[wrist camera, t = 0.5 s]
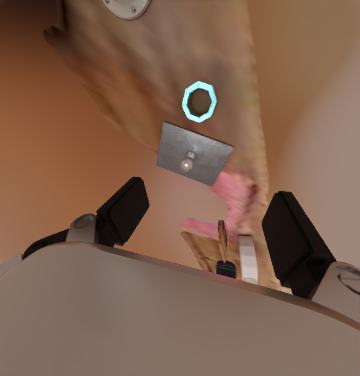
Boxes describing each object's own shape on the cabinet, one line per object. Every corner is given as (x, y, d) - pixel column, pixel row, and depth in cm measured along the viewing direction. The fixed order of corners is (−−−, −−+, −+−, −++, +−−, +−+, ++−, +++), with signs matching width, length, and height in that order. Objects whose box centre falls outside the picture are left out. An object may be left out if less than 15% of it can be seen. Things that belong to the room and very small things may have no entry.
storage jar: (214, 266, 77) (213, 297, 65) (218, 258, 71) (217, 291, 59) (232, 271, 75) (234, 304, 64) (238, 263, 69) (241, 299, 58)
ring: (183, 112, 34) (179, 115, 31) (191, 78, 30) (188, 77, 27) (209, 122, 34) (207, 125, 31) (221, 88, 29) (221, 89, 26)
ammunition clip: (226, 236, 59) (227, 264, 49) (222, 236, 59) (222, 264, 50) (223, 220, 53) (223, 248, 44) (218, 220, 54) (217, 247, 45)
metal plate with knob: (157, 163, 45) (148, 174, 40) (164, 121, 37) (154, 126, 31) (212, 184, 45) (210, 198, 39) (233, 146, 36) (235, 156, 30)
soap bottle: (237, 231, 55) (242, 287, 40) (251, 232, 53) (262, 291, 38) (238, 253, 64) (243, 305, 48) (250, 254, 62) (260, 309, 46)
